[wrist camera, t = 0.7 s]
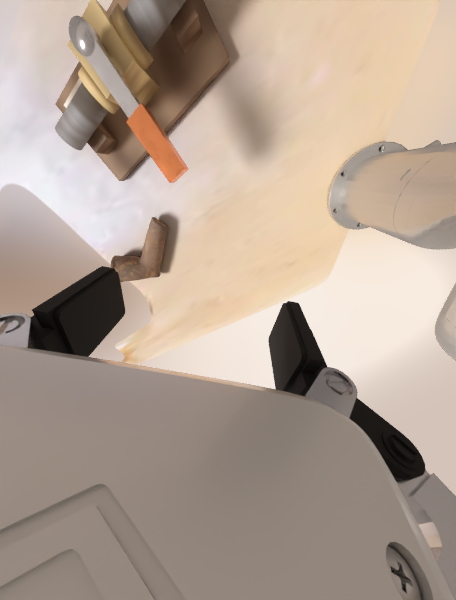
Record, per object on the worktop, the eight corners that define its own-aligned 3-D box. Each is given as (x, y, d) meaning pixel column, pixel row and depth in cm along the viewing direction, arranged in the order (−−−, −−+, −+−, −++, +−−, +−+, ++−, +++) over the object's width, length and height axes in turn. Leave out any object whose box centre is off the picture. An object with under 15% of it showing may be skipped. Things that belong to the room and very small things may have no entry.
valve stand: (167, -73, 20) (109, -258, 12) (229, 62, 25) (220, 2, 17) (63, 107, 29) (-14, 78, 21) (123, 180, 34) (82, 181, 26)
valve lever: (89, 17, 18) (75, 3, 16) (188, 168, 24) (184, 168, 23) (75, 43, 19) (61, 31, 17) (174, 182, 25) (169, 182, 24)
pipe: (168, 228, 34) (108, 206, 31) (153, 297, 43) (106, 284, 40) (174, 219, 39) (123, 200, 36) (159, 282, 48) (118, 270, 45)
